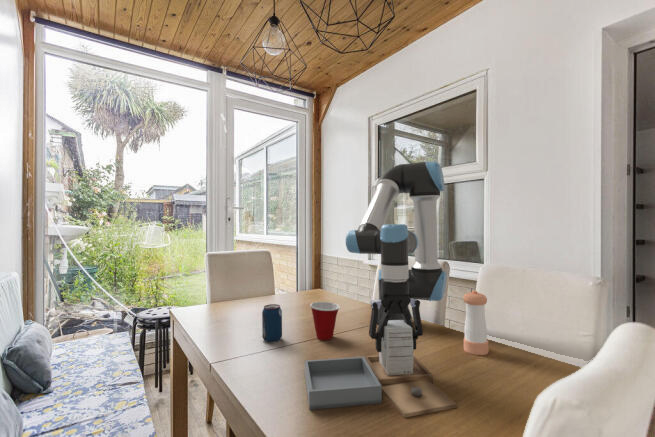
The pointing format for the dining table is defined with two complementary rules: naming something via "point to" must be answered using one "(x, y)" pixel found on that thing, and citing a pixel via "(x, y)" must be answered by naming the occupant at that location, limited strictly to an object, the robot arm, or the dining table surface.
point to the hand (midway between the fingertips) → (396, 362)
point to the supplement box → (398, 348)
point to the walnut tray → (386, 380)
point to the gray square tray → (341, 383)
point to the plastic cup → (324, 319)
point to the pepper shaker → (475, 324)
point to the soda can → (272, 323)
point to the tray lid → (417, 398)
